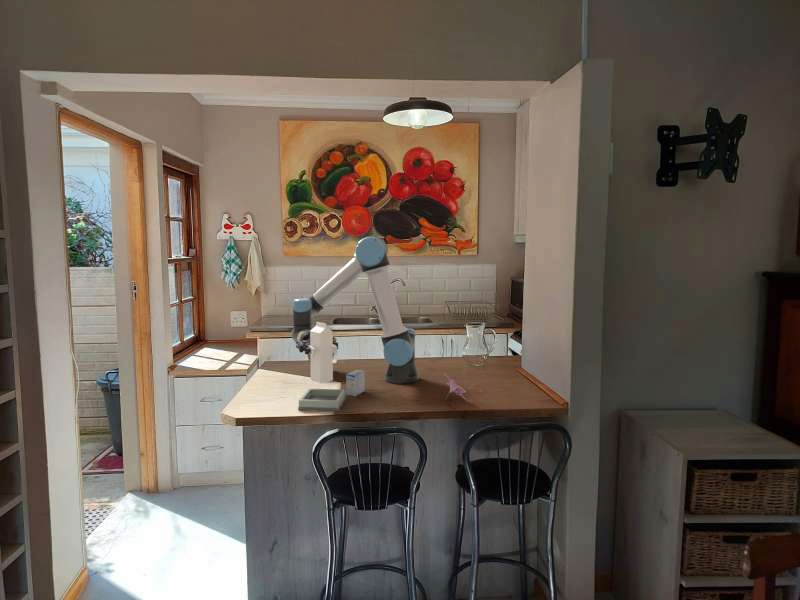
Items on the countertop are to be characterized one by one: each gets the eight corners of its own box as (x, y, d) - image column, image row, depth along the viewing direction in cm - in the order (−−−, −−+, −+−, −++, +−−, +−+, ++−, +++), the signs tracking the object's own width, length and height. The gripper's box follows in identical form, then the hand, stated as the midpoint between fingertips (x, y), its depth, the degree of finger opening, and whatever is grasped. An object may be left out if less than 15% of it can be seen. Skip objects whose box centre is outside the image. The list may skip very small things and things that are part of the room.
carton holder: (345, 398, 200) (345, 389, 199) (338, 411, 185) (338, 401, 185) (308, 397, 201) (308, 388, 200) (298, 410, 186) (298, 400, 186)
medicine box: (355, 389, 211) (355, 369, 210) (365, 391, 210) (365, 370, 208) (346, 395, 204) (345, 374, 203) (355, 396, 202) (355, 375, 201)
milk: (323, 377, 196) (322, 320, 194) (333, 380, 192) (332, 322, 189) (310, 380, 192) (309, 322, 189) (320, 383, 187) (319, 324, 185)
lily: (465, 408, 192) (474, 384, 194) (436, 396, 192) (446, 372, 194) (459, 407, 204) (468, 385, 206) (432, 396, 204) (441, 374, 206)
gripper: (333, 347, 211) (351, 359, 191) (283, 351, 203) (297, 364, 182) (332, 329, 210) (351, 339, 190) (283, 332, 202) (297, 343, 181)
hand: (325, 351), depth 186 cm, fingers closed on milk, 8 cm apart
